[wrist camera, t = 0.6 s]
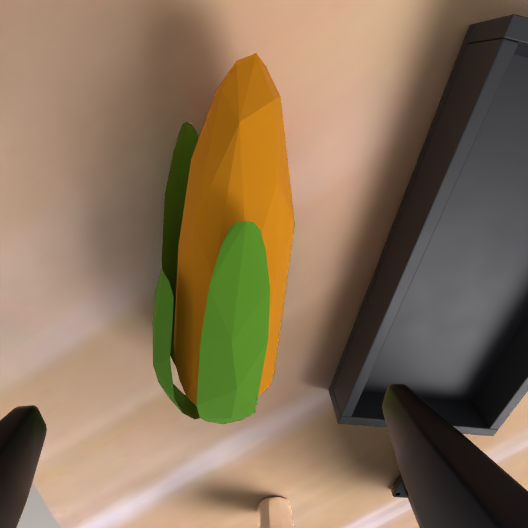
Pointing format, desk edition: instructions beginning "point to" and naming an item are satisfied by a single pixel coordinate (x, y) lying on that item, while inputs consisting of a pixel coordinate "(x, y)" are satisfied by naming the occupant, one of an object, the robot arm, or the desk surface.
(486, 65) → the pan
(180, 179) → the corn
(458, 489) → the robot arm
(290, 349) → the desk surface
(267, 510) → the milkshake
